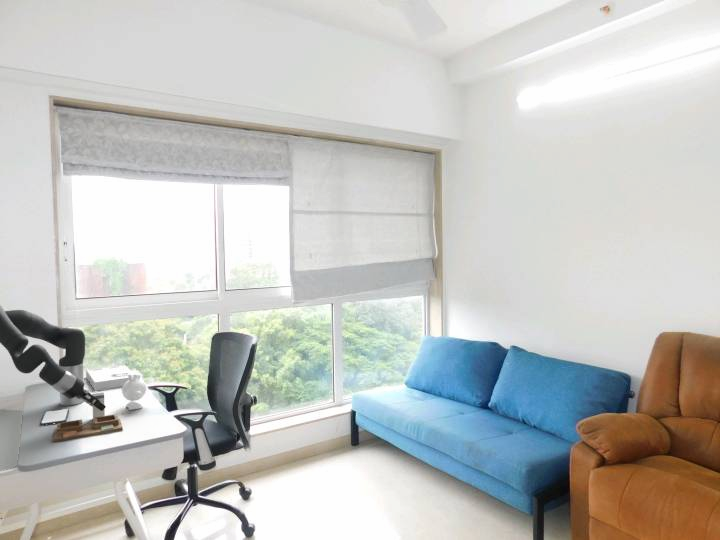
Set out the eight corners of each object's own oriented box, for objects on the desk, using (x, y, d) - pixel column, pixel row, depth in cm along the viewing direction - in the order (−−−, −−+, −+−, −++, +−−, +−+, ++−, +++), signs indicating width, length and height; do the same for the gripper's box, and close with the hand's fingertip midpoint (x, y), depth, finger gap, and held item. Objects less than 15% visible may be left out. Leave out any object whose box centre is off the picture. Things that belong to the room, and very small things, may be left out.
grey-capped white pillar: (92, 418, 196) (92, 394, 196) (104, 416, 198) (103, 392, 198) (93, 421, 193) (92, 396, 192) (104, 419, 195) (104, 394, 194)
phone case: (66, 424, 192) (69, 411, 206) (66, 420, 192) (69, 408, 206) (39, 428, 188) (44, 415, 202) (39, 424, 188) (44, 411, 202)
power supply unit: (124, 373, 274) (124, 364, 273) (137, 386, 247) (136, 376, 247) (86, 378, 263) (86, 369, 262) (95, 392, 236) (94, 382, 236)
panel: (54, 431, 182) (54, 423, 182) (119, 420, 193) (119, 413, 193) (53, 442, 171) (53, 433, 171) (122, 430, 183) (122, 422, 183)
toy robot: (118, 405, 213) (117, 371, 213) (141, 401, 219) (140, 368, 219) (127, 413, 202) (126, 378, 201) (151, 409, 208) (150, 374, 207)
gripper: (52, 389, 189) (84, 411, 198) (67, 396, 180) (100, 418, 189) (67, 373, 193) (98, 395, 202) (82, 378, 184) (113, 401, 193)
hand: (99, 406), depth 195 cm, fingers open, 8 cm apart
